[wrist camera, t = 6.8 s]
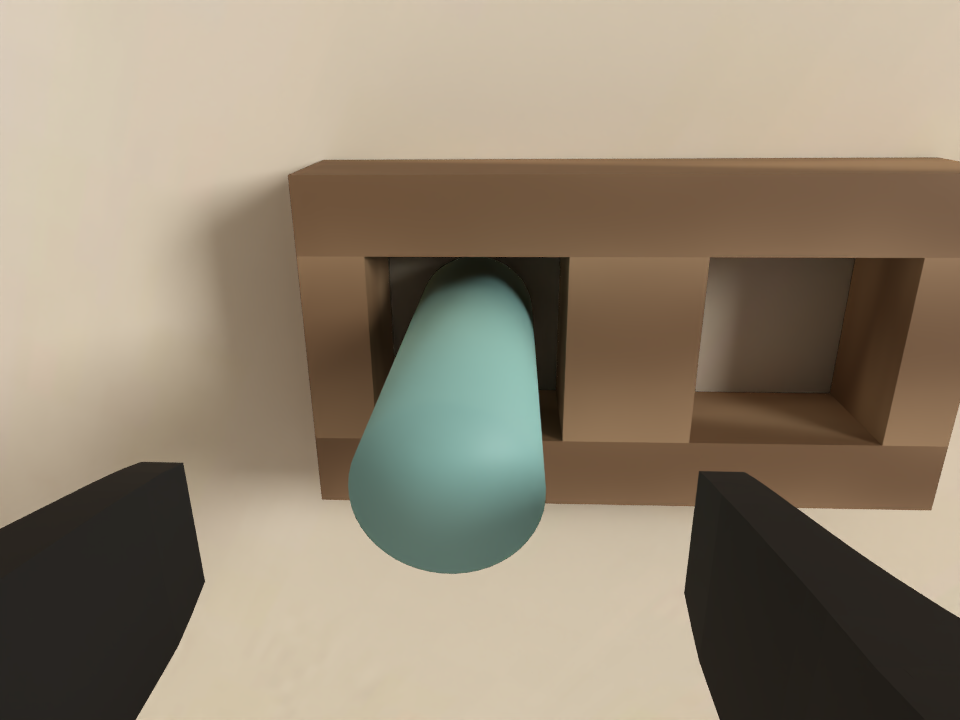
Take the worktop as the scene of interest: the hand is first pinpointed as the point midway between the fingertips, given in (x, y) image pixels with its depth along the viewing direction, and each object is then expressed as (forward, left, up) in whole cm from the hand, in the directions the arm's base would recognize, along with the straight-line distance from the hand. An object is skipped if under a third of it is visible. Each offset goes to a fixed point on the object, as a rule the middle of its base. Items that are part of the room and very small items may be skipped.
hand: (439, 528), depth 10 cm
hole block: (0, -4, -10) cm, 10 cm away
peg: (0, 0, -10) cm, 10 cm away
